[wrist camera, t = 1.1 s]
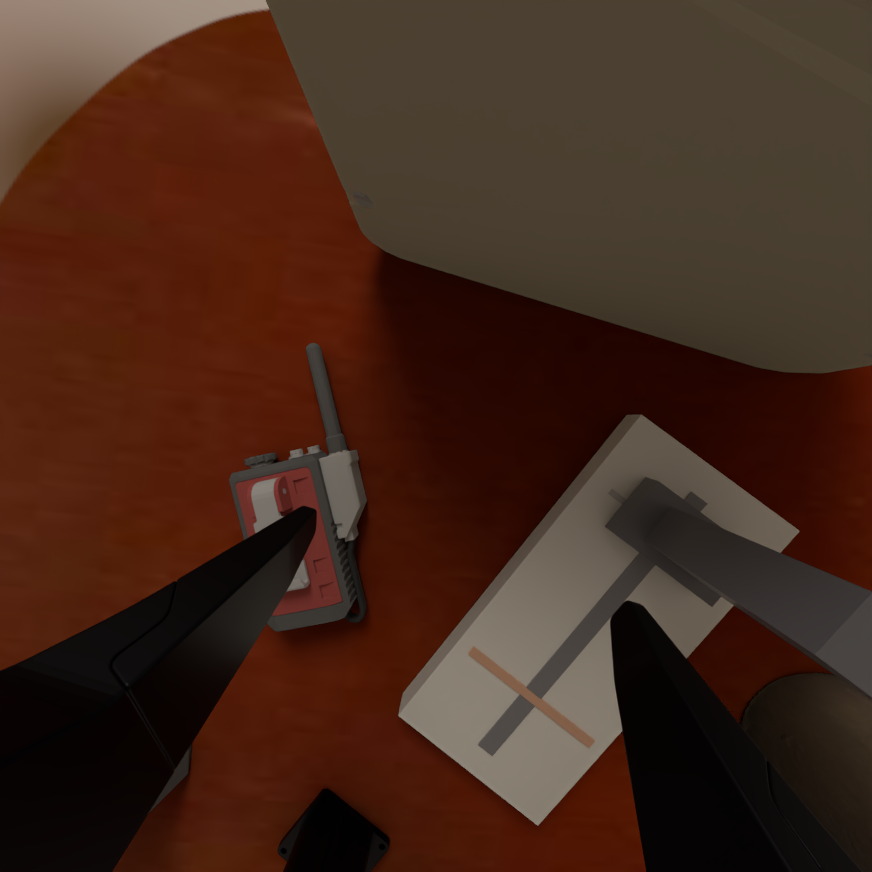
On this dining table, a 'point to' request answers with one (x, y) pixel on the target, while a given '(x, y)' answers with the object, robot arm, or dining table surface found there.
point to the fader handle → (753, 581)
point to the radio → (616, 157)
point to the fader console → (571, 624)
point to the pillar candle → (821, 752)
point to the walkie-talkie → (336, 516)
